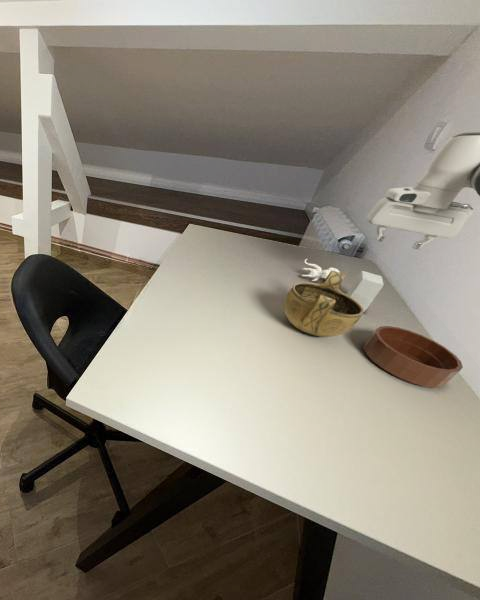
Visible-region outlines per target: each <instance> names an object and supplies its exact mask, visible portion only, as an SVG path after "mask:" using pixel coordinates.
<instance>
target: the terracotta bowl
mask: <svg viewBox="0 0 480 600" xmlns="http://www.w3.org/2000/svg"><path fill="white" fill-rule="evenodd" d="M362 349H363V351H364V353H365V355H366V356H367V357H368V358H369V359H370V360H371V361H372V362H373V363H374V364H375V365H377V366H379V367H380V368H381V369H383V370H384V371H386V372H388V373H389V374H391V375H393V376H395V377H397V378H399V379H402V380H403V381H406V382H408V383H411V384H415V385H417V386H420V387H426V388H431V389H437V388H443V387H444V386H445V385H446V384H447V383H449V381H451V380H452V379H453V378H454V377H455V376H456V375H457V374H459V372H461V371H462V369H463V368H464V366H463V363H462V361H461V360H460V358H459V357H458V356H457V355H456V354H455V353H453V352H452V351H451V350H449V349H448V348H447V347H446V346H443V345H442V344H441V343H438V342H437V341H435V340H434V339H432V338H429V337H427V336H425V335H422V334H420V333H417V332H414V331H412V330H409V329H405V328H402V327H397V326H390V325H382V326H381V325H380V326H378V327H377V328H375V329H374V331H372V333H371V334H370V335H369V337H368V338H367V339H366V341H365V342H364V343H363V348H362Z"/></svg>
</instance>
